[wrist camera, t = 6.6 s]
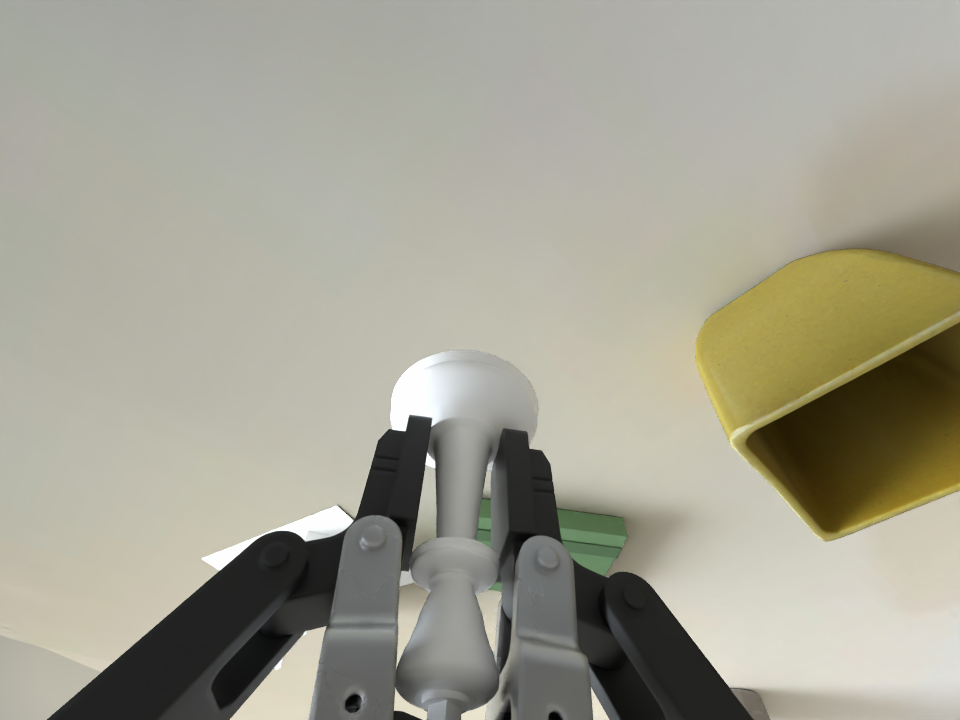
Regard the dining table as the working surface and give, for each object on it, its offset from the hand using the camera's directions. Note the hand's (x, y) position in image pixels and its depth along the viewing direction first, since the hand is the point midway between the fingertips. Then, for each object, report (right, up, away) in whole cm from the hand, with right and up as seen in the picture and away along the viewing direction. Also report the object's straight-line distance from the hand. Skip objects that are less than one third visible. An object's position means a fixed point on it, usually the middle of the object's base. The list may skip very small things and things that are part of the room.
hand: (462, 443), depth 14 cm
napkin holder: (-14, -15, +24) cm, 32 cm away
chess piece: (0, +1, +1) cm, 2 cm away
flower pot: (+16, +5, +10) cm, 19 cm away
